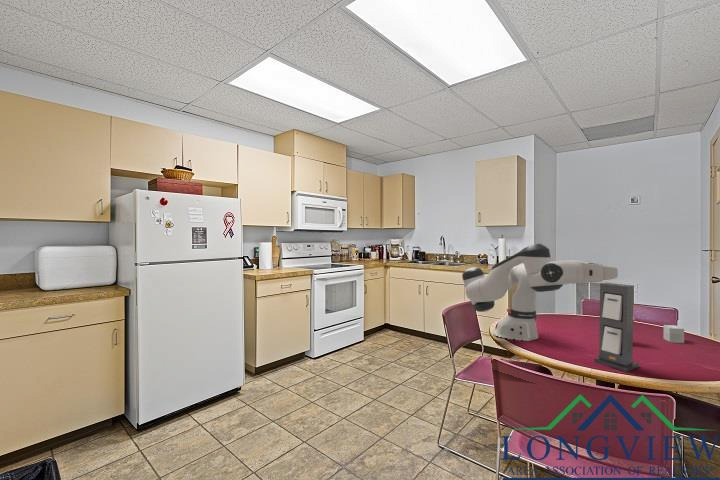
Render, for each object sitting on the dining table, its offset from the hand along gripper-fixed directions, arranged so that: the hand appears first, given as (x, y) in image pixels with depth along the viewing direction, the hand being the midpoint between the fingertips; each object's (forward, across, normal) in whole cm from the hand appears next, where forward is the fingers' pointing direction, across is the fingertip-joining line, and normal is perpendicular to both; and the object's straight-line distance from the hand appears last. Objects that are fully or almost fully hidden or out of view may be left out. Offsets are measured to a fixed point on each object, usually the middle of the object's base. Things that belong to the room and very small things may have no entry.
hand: (595, 270), depth 134 cm
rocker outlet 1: (+13, 0, -34) cm, 37 cm away
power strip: (+17, 0, -40) cm, 44 cm away
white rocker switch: (+12, 0, -20) cm, 24 cm away
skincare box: (+76, -1, -38) cm, 85 cm away
